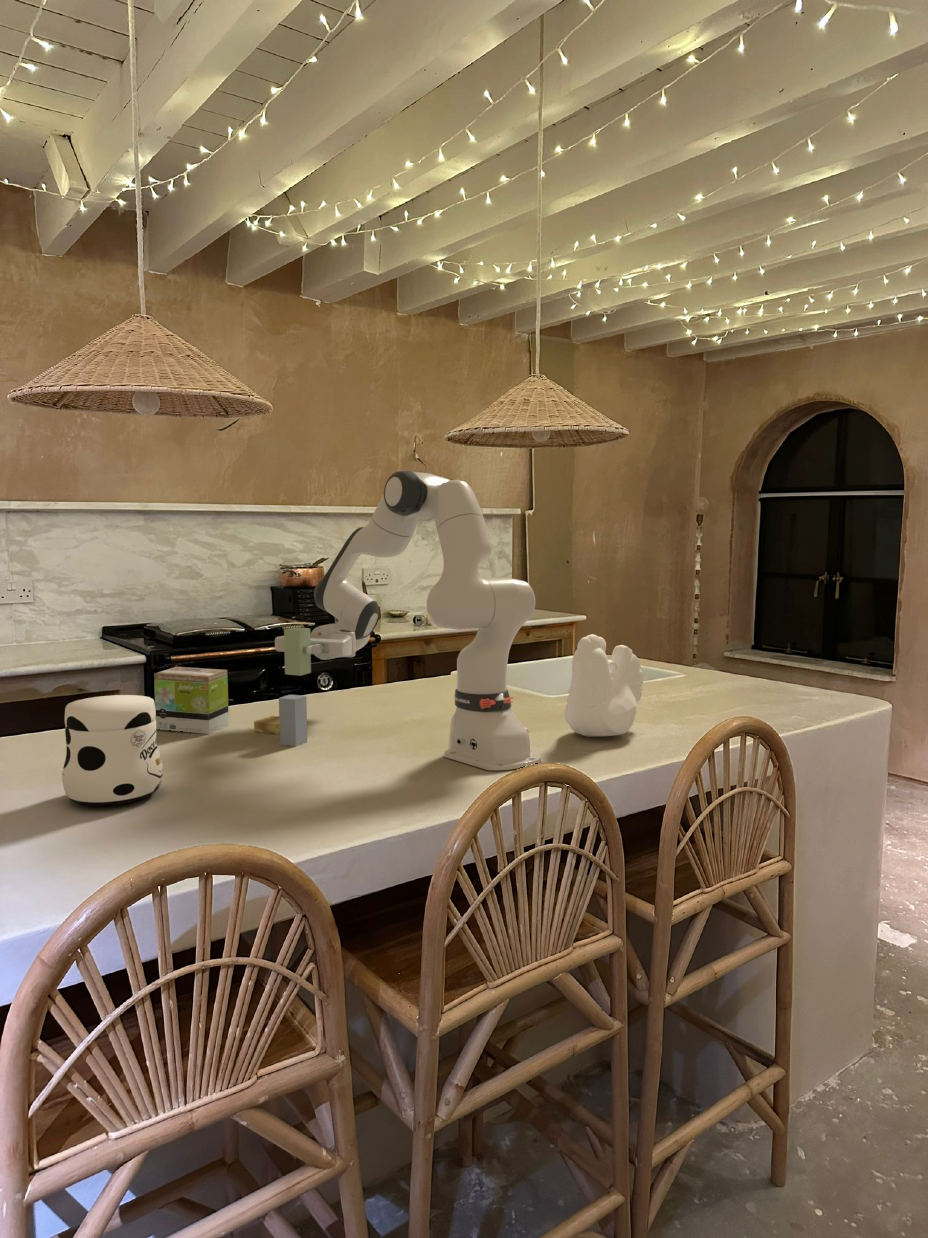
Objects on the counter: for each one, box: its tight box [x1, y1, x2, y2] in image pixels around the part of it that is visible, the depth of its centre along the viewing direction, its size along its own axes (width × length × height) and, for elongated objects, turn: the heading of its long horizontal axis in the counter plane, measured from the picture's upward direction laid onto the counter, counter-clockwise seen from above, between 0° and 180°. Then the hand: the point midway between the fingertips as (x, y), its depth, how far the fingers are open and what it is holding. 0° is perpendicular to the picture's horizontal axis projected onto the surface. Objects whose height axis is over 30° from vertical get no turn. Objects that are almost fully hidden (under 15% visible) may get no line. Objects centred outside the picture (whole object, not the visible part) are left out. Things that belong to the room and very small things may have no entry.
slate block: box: [278, 693, 308, 747], centre depth 199 cm, size 4×4×11 cm
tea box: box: [153, 666, 229, 735], centre depth 213 cm, size 15×10×15 cm, turn 76°
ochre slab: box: [253, 715, 280, 735], centre depth 213 cm, size 7×7×2 cm
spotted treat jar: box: [61, 694, 164, 807], centre depth 159 cm, size 17×17×18 cm
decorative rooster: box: [563, 633, 644, 737], centre depth 208 cm, size 25×16×25 cm, turn 120°
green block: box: [283, 626, 312, 676], centre depth 209 cm, size 4×4×11 cm
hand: (295, 649), depth 209 cm, fingers closed on green block, 4 cm apart
